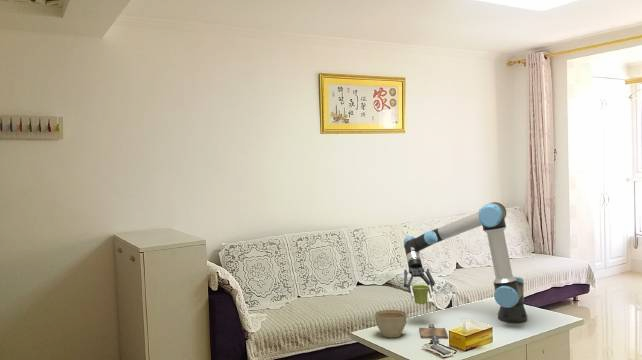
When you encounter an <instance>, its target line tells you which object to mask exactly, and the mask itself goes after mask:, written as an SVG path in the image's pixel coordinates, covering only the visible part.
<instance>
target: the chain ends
mask: <svg viewBox="0 0 642 360" xmlns="http://www.w3.org/2000/svg"><path fill="white" fill-rule="evenodd" d="M428 328H436V327H435V325H434V323H433V324H431V323H430V324H429V325H428ZM430 339H431V342H432V341H433V342H434V343H439V344H440V340H439V339H438V337H437V335H432V337H431V338H430Z"/></svg>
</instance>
